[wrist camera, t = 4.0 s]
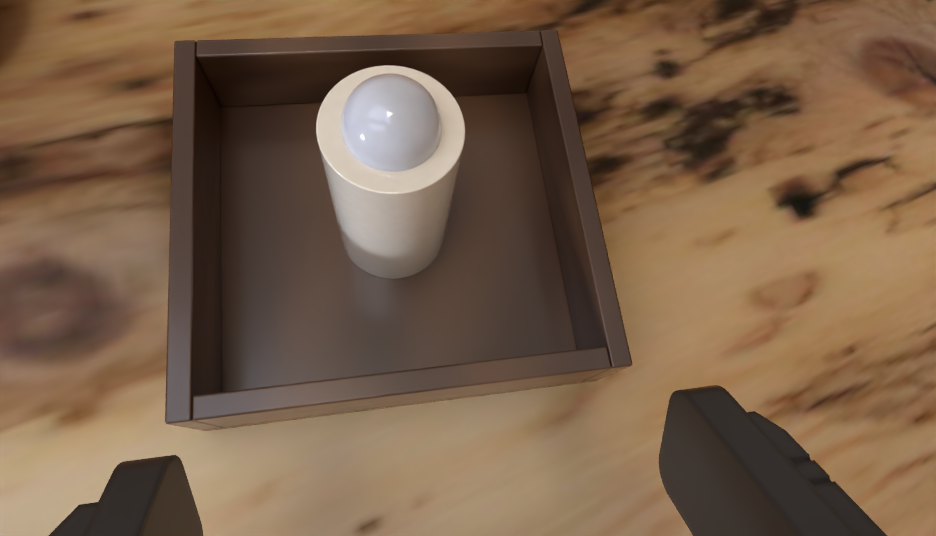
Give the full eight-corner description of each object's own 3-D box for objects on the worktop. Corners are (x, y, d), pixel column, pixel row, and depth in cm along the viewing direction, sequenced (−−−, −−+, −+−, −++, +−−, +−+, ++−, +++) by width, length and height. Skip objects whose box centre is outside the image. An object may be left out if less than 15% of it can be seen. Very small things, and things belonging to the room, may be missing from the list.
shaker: (318, 227, 24) (273, 89, 15) (394, 165, 26) (394, 4, 17) (391, 300, 24) (387, 200, 15) (465, 232, 25) (504, 102, 16)
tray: (204, 431, 22) (164, 424, 18) (205, 101, 26) (174, 40, 22) (596, 381, 24) (633, 365, 20) (536, 86, 29) (558, 29, 25)
